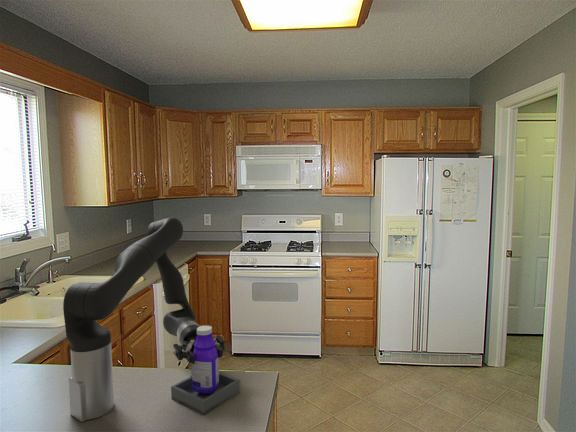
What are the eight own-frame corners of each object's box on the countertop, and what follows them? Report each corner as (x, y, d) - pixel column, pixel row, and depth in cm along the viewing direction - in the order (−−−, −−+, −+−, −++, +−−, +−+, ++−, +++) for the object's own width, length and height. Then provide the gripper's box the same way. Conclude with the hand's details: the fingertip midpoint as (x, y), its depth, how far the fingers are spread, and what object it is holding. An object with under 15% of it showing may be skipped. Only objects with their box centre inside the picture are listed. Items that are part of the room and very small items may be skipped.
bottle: (222, 385, 103) (220, 325, 102) (213, 396, 97) (211, 332, 96) (199, 382, 105) (197, 323, 104) (188, 393, 99) (186, 330, 98)
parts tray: (203, 415, 92) (203, 401, 92) (171, 399, 100) (171, 386, 99) (239, 392, 103) (239, 380, 102) (208, 379, 110) (207, 367, 110)
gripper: (167, 328, 109) (179, 349, 95) (213, 320, 116) (232, 338, 102) (167, 353, 110) (180, 377, 95) (214, 343, 117) (233, 364, 102)
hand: (207, 357), depth 99 cm, fingers closed on bottle, 7 cm apart
